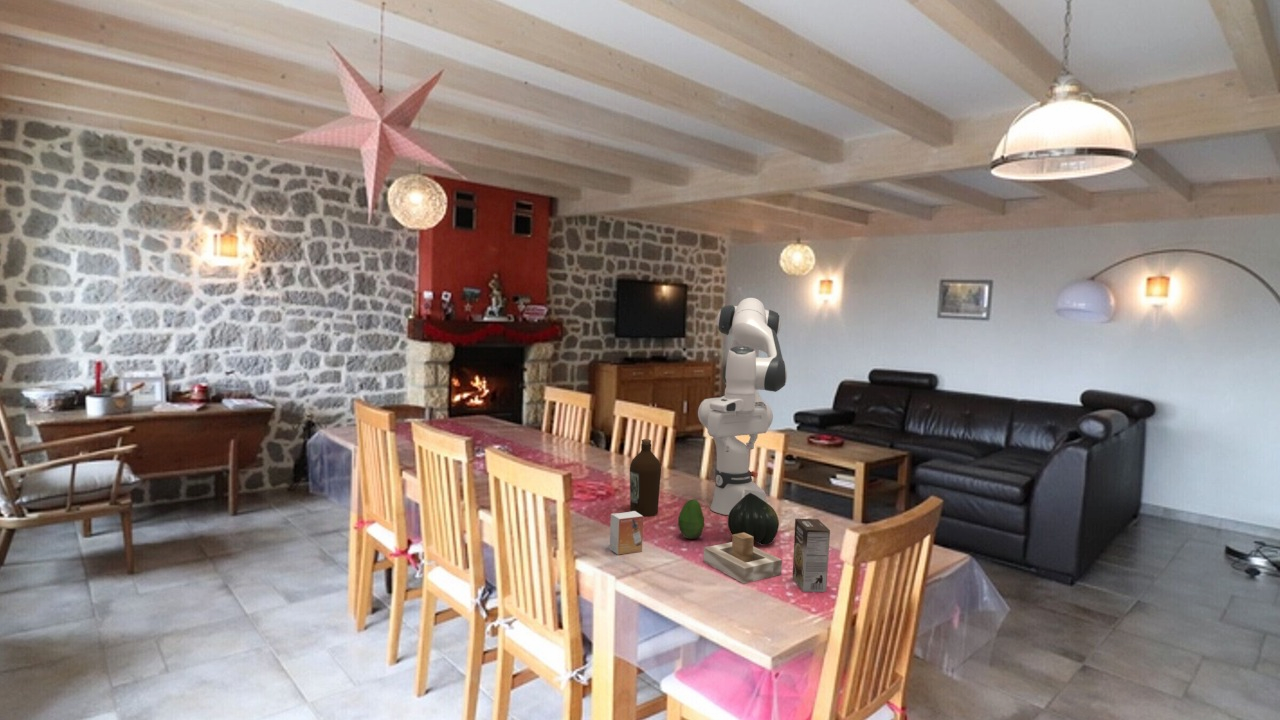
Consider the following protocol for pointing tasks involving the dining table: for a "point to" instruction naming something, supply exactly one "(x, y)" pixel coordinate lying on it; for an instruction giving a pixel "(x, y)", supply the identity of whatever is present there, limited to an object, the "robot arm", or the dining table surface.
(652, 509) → the olive oil
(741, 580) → the rectangular frame
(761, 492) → the robot arm
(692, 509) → the avocado
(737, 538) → the tan wooden block
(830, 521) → the dining table surface
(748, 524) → the squash
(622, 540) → the small box
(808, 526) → the coffee box
